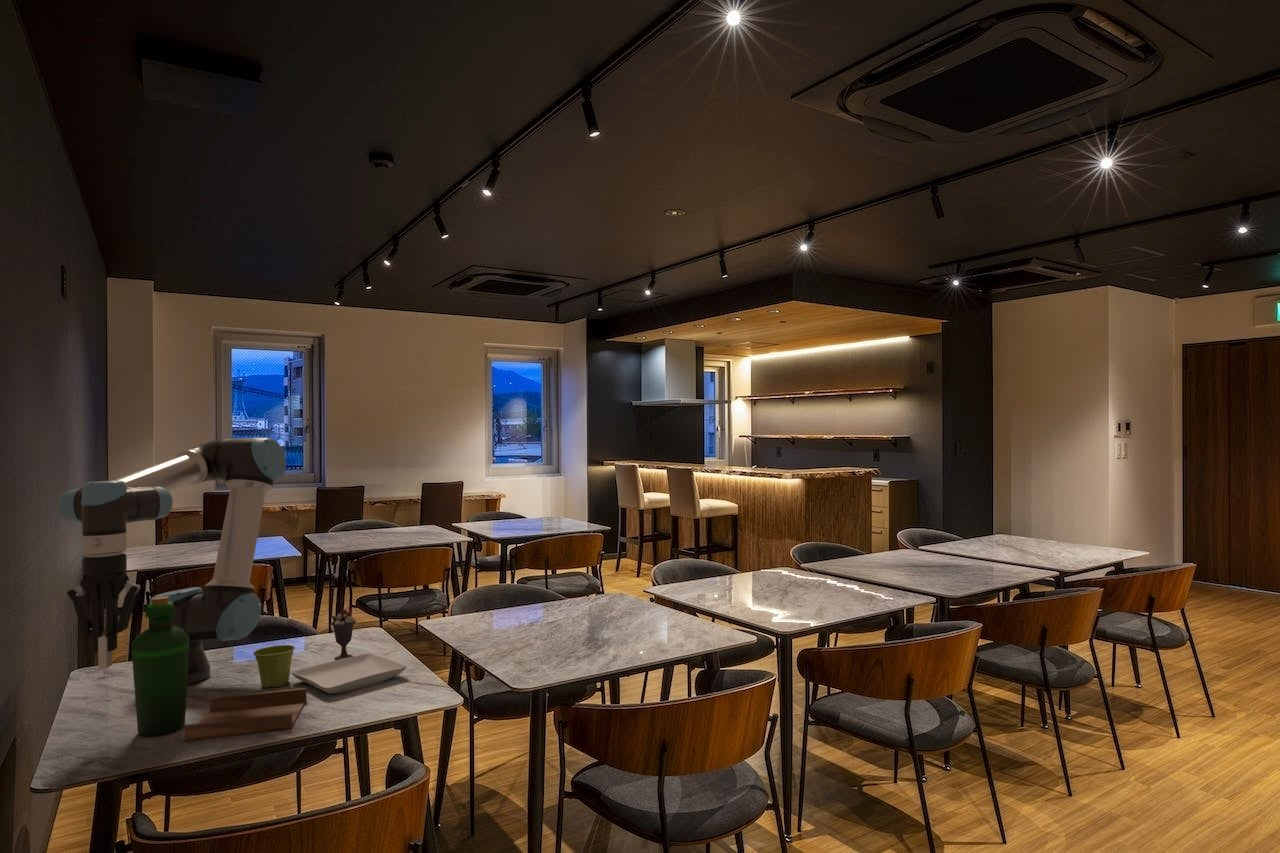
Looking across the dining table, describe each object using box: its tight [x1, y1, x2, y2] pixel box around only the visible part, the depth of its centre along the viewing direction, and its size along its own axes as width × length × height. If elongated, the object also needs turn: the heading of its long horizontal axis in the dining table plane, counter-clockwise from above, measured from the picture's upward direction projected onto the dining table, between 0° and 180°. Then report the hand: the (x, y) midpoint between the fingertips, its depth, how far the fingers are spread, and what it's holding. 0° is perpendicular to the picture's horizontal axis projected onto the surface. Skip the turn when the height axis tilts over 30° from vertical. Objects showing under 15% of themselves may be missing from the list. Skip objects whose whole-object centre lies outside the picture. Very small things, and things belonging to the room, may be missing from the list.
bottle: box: [130, 596, 190, 737], centre depth 155 cm, size 11×11×28 cm
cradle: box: [183, 687, 308, 742], centre depth 159 cm, size 18×20×3 cm
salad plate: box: [291, 652, 407, 694], centre depth 185 cm, size 21×21×3 cm
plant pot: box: [252, 644, 296, 688], centre depth 183 cm, size 9×9×9 cm
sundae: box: [329, 603, 357, 661], centre depth 205 cm, size 7×7×15 cm
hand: (105, 666), depth 152 cm, fingers closed
